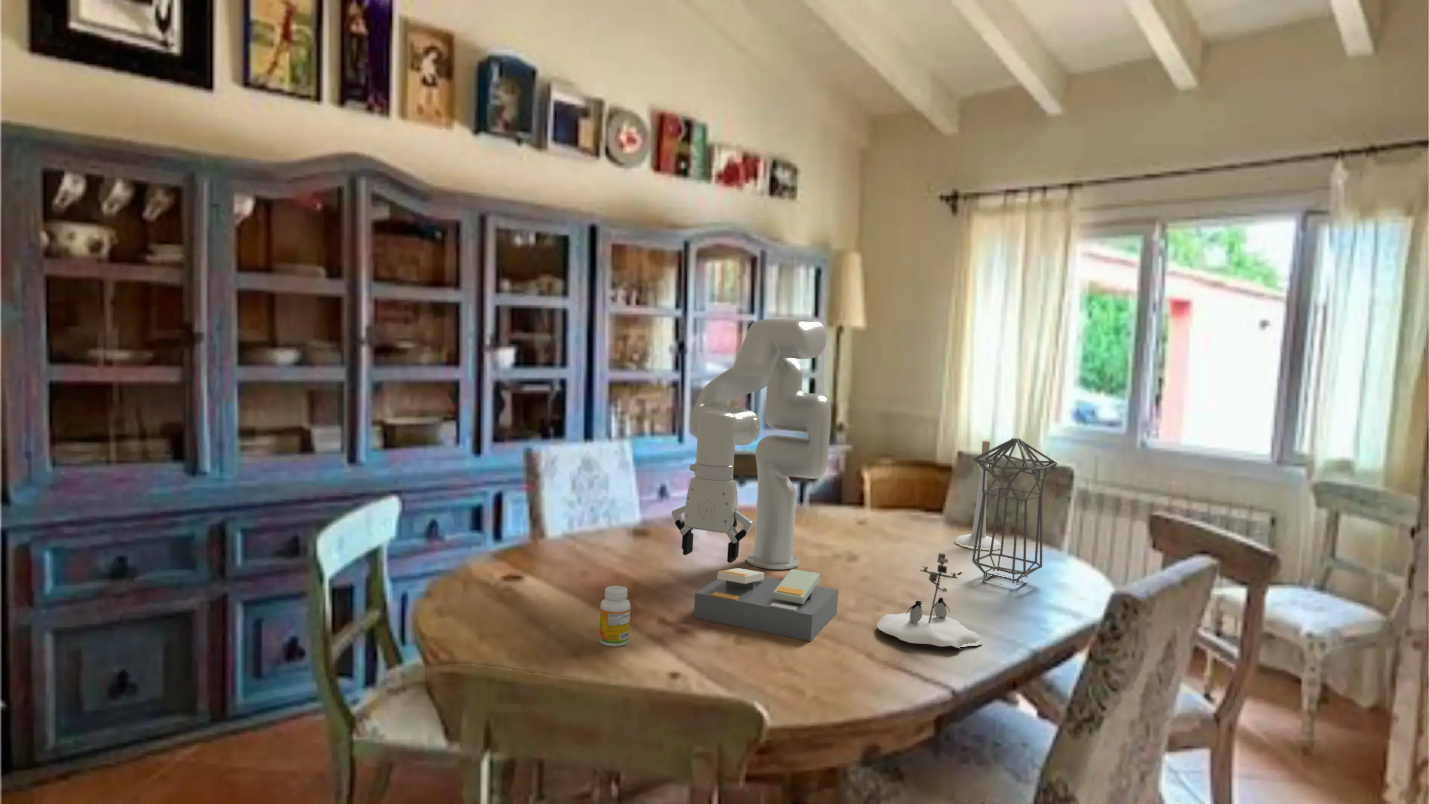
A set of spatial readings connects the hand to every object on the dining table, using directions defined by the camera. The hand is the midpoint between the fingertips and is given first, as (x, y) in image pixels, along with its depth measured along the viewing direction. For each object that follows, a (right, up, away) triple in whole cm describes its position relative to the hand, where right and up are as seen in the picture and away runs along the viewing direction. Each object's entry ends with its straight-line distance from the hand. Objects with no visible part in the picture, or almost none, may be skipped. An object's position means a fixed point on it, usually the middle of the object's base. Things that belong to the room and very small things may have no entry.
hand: (709, 557), depth 170 cm
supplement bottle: (-17, -12, -17) cm, 27 cm away
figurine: (+42, -15, -6) cm, 45 cm away
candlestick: (+75, -9, +69) cm, 103 cm away
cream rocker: (+6, -5, +3) cm, 8 cm away
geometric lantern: (+70, -12, +33) cm, 79 cm away
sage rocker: (+17, -6, -2) cm, 18 cm away
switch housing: (+11, -12, +1) cm, 17 cm away
